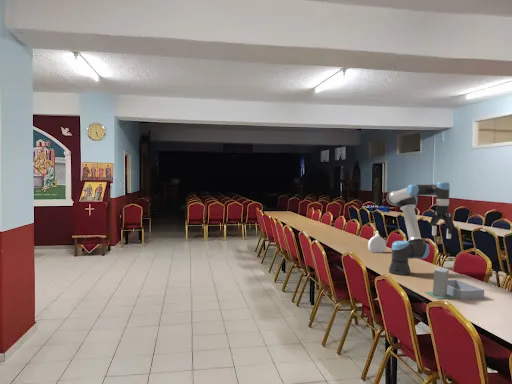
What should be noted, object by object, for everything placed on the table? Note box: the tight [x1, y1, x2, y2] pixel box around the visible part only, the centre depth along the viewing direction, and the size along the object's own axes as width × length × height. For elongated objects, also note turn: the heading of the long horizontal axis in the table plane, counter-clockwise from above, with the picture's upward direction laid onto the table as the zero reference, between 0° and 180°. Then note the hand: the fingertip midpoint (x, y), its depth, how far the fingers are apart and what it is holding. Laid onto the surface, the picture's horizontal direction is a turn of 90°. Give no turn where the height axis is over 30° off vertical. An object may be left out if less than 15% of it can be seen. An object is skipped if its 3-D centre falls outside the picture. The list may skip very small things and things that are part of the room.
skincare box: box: [432, 266, 450, 297], centre depth 220 cm, size 8×7×16 cm
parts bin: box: [447, 278, 485, 301], centre depth 225 cm, size 22×16×5 cm
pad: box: [424, 291, 456, 300], centre depth 220 cm, size 12×12×1 cm
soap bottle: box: [367, 230, 387, 254], centre depth 344 cm, size 16×5×20 cm, turn 94°
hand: (441, 236), depth 243 cm, fingers open, 13 cm apart
